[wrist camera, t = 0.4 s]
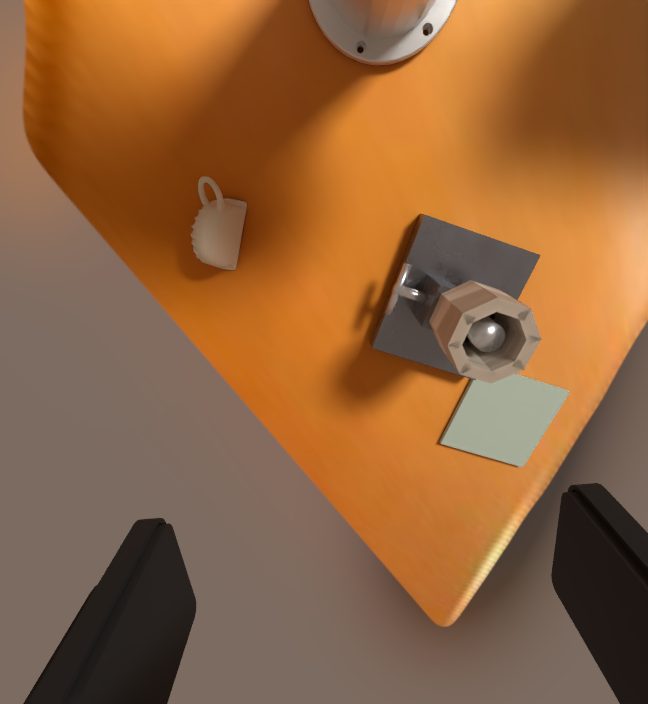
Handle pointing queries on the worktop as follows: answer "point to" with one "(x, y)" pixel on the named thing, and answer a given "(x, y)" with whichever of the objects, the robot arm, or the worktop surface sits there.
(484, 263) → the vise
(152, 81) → the worktop surface
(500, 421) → the mat
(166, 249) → the worktop surface
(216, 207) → the decorative ornament
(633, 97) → the worktop surface
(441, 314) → the hollow octagonal tube
